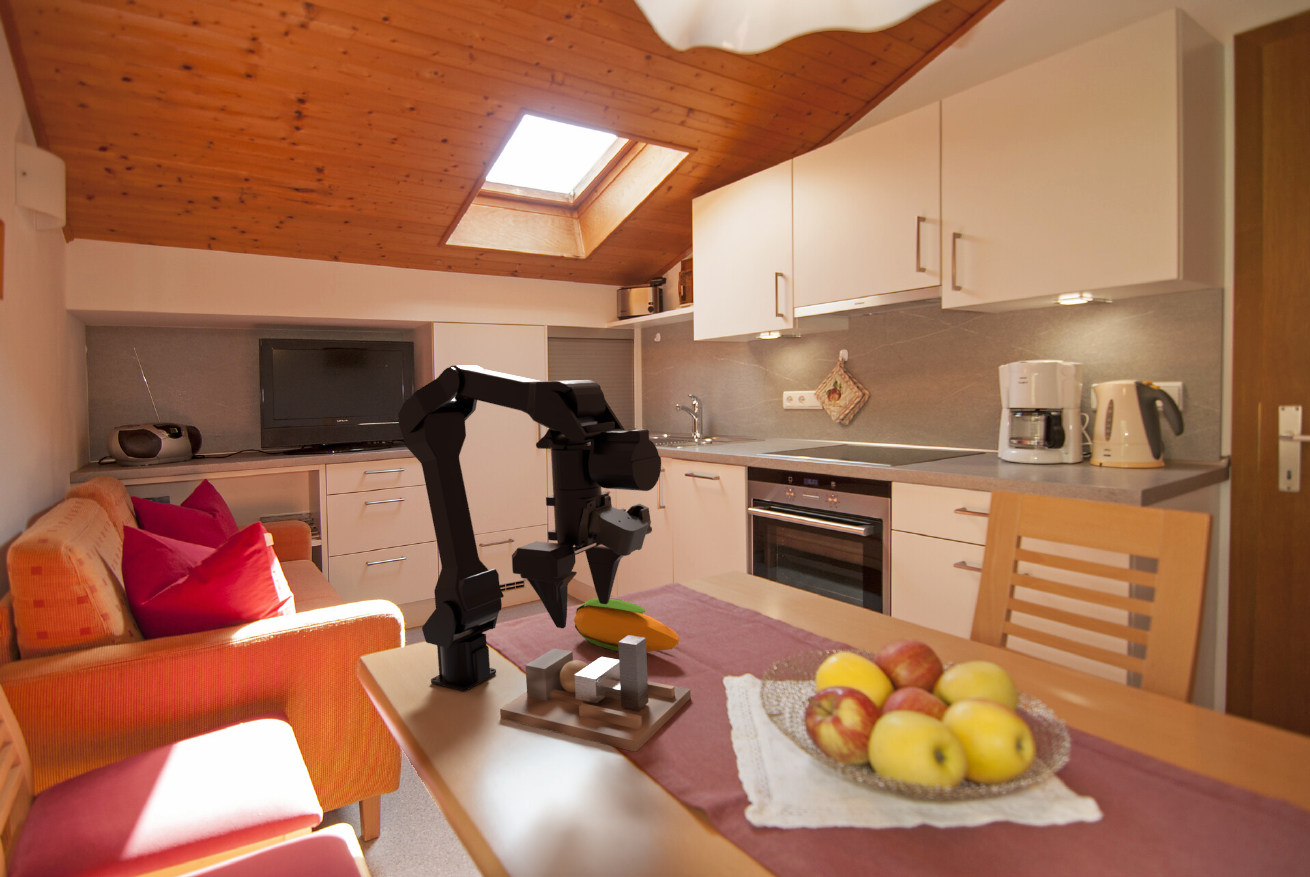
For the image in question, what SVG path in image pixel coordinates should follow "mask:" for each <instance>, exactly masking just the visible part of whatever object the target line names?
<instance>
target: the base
mask: <svg viewBox="0 0 1310 877" xmlns="http://www.w3.org/2000/svg"><path fill="white" fill-rule="evenodd" d="M573 654H574V653H573V651H571V650H565V649H559V648H555V647H553V648H552V649H550V650H549V651H547V652H545V653H543V654H542V655H540V656H539V657H537V658H535V659H533V660H531V661H530V662H528V663H527V664H525V679H526V680H525V681H526V682H525V685H526V691H525V692H524V693H523V694H521V695H519V696H517V697H516V698H515V699H513V700H511V701H510V702H509V703H507V704H505V705H504V706H502V707H501V708H499V713H500V714H499V715H500V716H499V717H500V719H502V720H506V721H510V722H514V723H518V724H521V725H522V724H523V725H525V726H526V725H527V726H528V727H529V726H530V727H534V728H537V729H542V730H547V731H551V732H554V733H557V734H563V735H567V736H571V737H574V738H578V739H582V740H586V741H590V742H594V743H599V744H603V745H607V746H610V747H615V748H619V749H624V750H627V751H632V752H637V751H638V750H639V749H641V747H643V746H644V744H646V743H647V742H648V740H650V739H651V738H652V737H653V736H654V735H655V734H656V733H657V732H658V731H659V730H660V729H661V728H662V727H663V726H664V725H665V724H666V723H667V722H668V721H670V719H671V718H672V717H673V716H674V715H675V714H676V713H677V712H678V711H680V709H681V708H683V706H685V705H686V704H687V703H688V701H689V700H690V699H691V697H692V696H691V693H692V692H691V689H690V688H688V687H687V688H686V687H682V686H681V687H680V686H677V685H671V684H666V683H660V682H655V681H650V680H648V703H647V704H646V705H645V706H644V707H642V708H641V709H640V710H639V711H638V710H633V709H629V708H624V707H621V700H620V699H616V698H611V697H606V696H605V697H604V698H603V699H602V700H600V701H599V702H598V703H593V702H588V701H583V700H579V699H576V694H575V693H570V692H567V691H566V690H565V689H564V688H563V687H562V685H561V683H560V672H561V670H562V668H563V666H564V665H565V664H566V663H568V662H570V661H573V660H574V655H573Z"/></svg>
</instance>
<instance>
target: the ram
mask: <svg viewBox="0 0 1310 877" xmlns="http://www.w3.org/2000/svg"><path fill="white" fill-rule="evenodd" d="M618 646H619V652H618V659H616V658H611V657H605V656H601V657H598V658H597V659H596V660H594V661H592V662H591V663H590V664H587V665H588V666H587V667H585V668H584V669H582V670H581V671H579V672H578V673H576V674H575V694H576V699H579V700H583V701H588V702H593V703H598V702H599V701H600V700H602V699H603V698H604V697H605V696H606V697H611V698H616V699H620V700H621V707H624V708H629V709H633V710H638V711H639V710H640V709H641V708H642V707H644V706H645V705H646V704H647V703H648V681H649V680H648V662H647V661H648V659H647V657H648V656H647V651H646V638H643V637H637V636H631V635H628V636H627V637H625V638H624V639H622V640H621V641H619V642H618Z"/></svg>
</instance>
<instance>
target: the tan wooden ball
mask: <svg viewBox="0 0 1310 877" xmlns="http://www.w3.org/2000/svg"><path fill="white" fill-rule="evenodd" d="M588 665H589V664H587V663H586V662H584V661H582V660H579V659H573V661H570V662H568V663H566V664H565V665H564V666H563V668H562V670H561V672H560V683H561V685H562V687H563V688H564V689H565V690H566V691H567V692H570V693H575V674H576V673H578V672H579V671H581V670H582V669H584V668H585V667H587V666H588Z"/></svg>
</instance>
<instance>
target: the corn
mask: <svg viewBox="0 0 1310 877" xmlns="http://www.w3.org/2000/svg"><path fill="white" fill-rule="evenodd" d="M646 612H647V610H646V609H645V608H644V607H642V606H640V605H639V604H636V603H634V602H633V603H632V602H629V601H625V600H622V599H617V598H611V597H610V599H609V602H608V603H607V604H601V603H600V602H599V599H598V597H596V598H595V597H594V598H590V599H587V600H586V601H585V602H583V603H582V604H580V605H579V606H578V607H577V608H576V612H575V615H574V619H573V622H574V628H575V629H576V630H577V632H578V633H579V635H580V636H581V637H582V638H583V639H585V641H587V642H590V643H592V644H593V645H595V646H598V647H600V648H604V649H608V650H612V651H613V652H614V651H615V652H618V653H619V646H618V642H619V641H621V640H622V639H624V638H625V637H627V636H628V635H631V636H637V637H643V638H646V653H647V652H658V651H668V650H669V651H670V650H673V649H674V648H675V647H677V646H678V645H679V642H680V636H679V635H678V634H677V632H676V631H675V630H673V629H672V628H670V627H668V626H667V625H666V624H664V623H662V622H661V621H659V620H657V619H656V618H653V617H651V616H649V615H647V614H644V613H646Z"/></svg>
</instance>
